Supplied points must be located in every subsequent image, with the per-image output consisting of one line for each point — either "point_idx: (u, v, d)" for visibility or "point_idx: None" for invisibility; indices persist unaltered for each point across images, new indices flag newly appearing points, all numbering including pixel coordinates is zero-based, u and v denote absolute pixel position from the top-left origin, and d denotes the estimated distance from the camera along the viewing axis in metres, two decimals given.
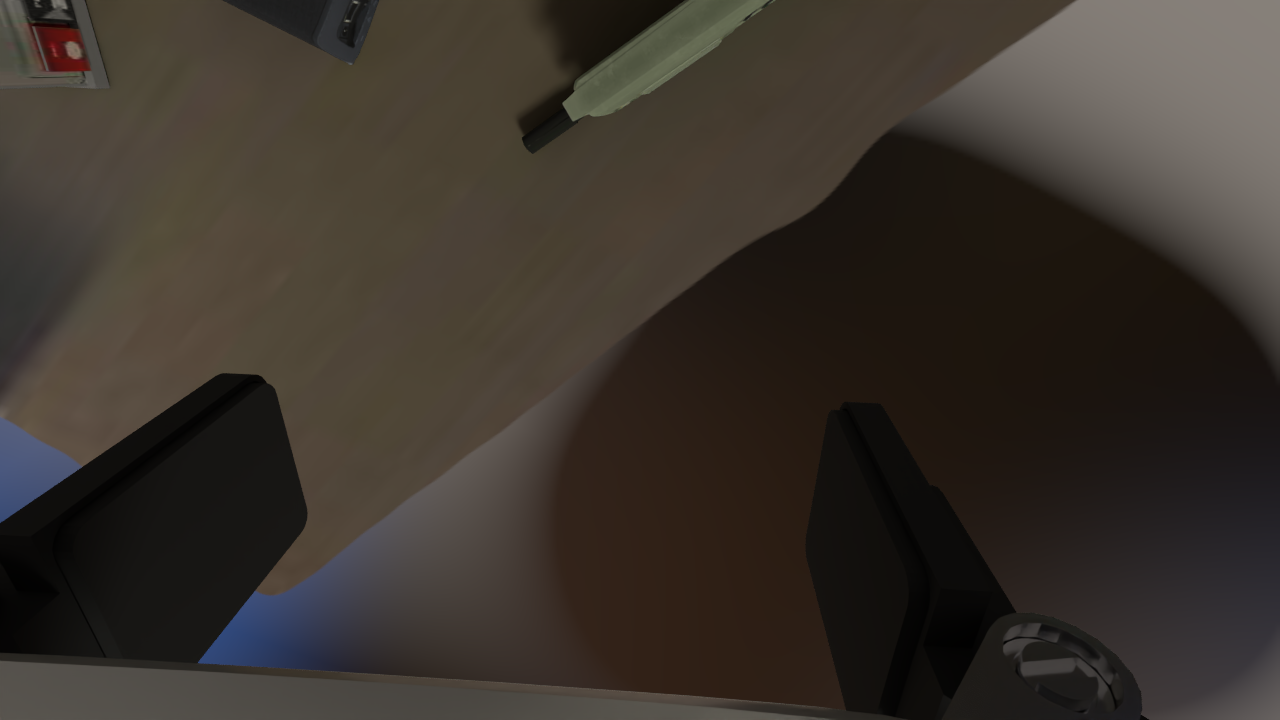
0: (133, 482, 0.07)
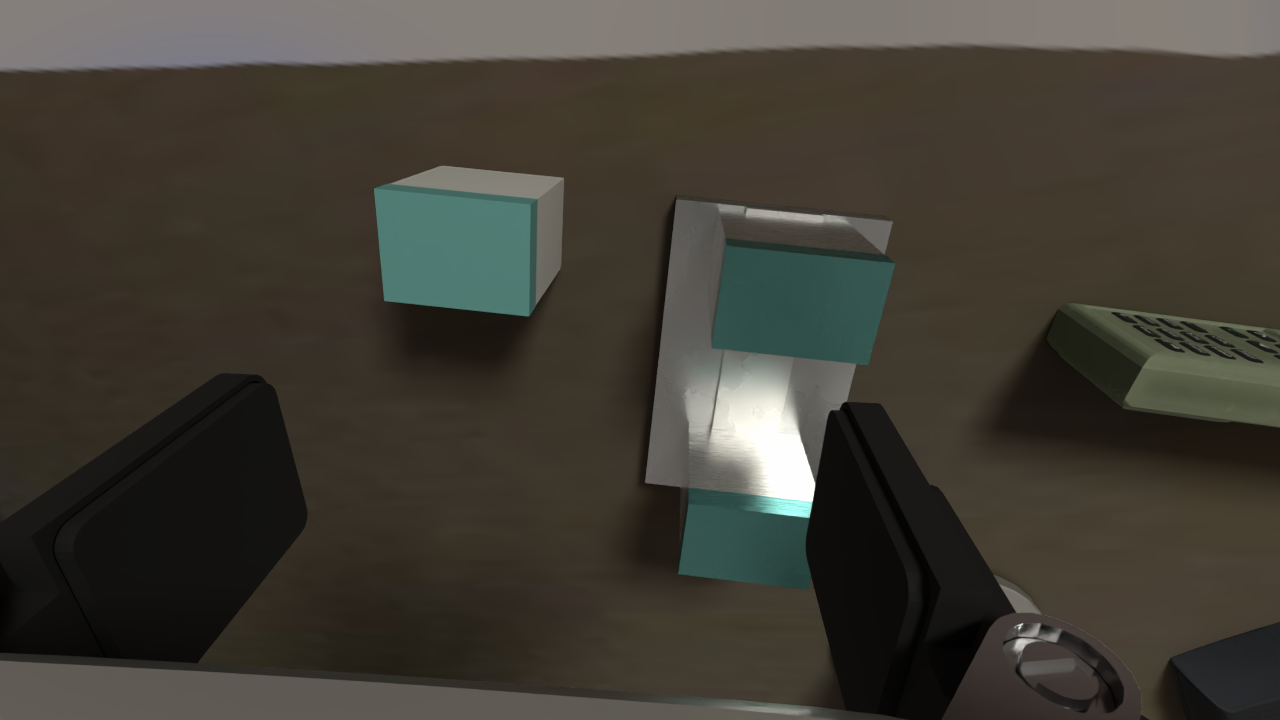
0: (133, 482, 0.07)
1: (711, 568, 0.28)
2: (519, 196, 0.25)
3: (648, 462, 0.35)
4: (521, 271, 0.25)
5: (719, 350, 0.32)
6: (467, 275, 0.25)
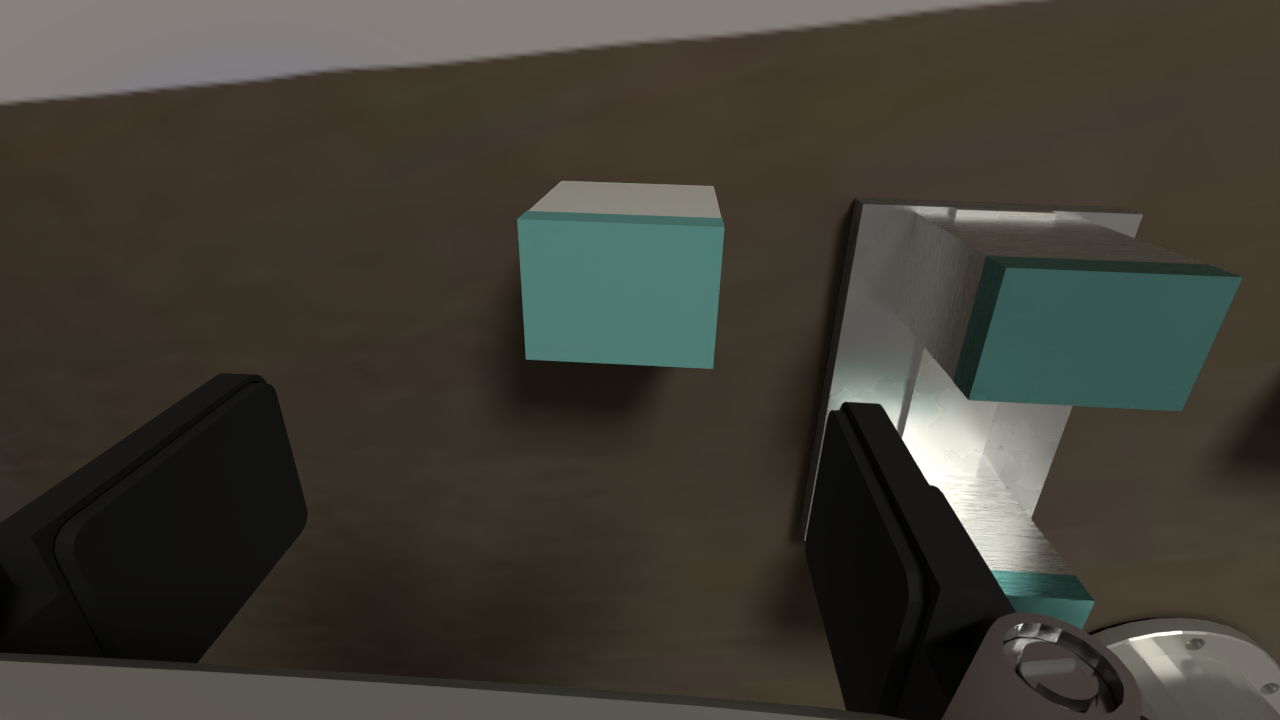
0: (133, 482, 0.07)
1: None
2: (696, 216, 0.19)
3: (809, 517, 0.29)
4: (706, 313, 0.19)
5: (905, 383, 0.26)
6: (635, 322, 0.19)
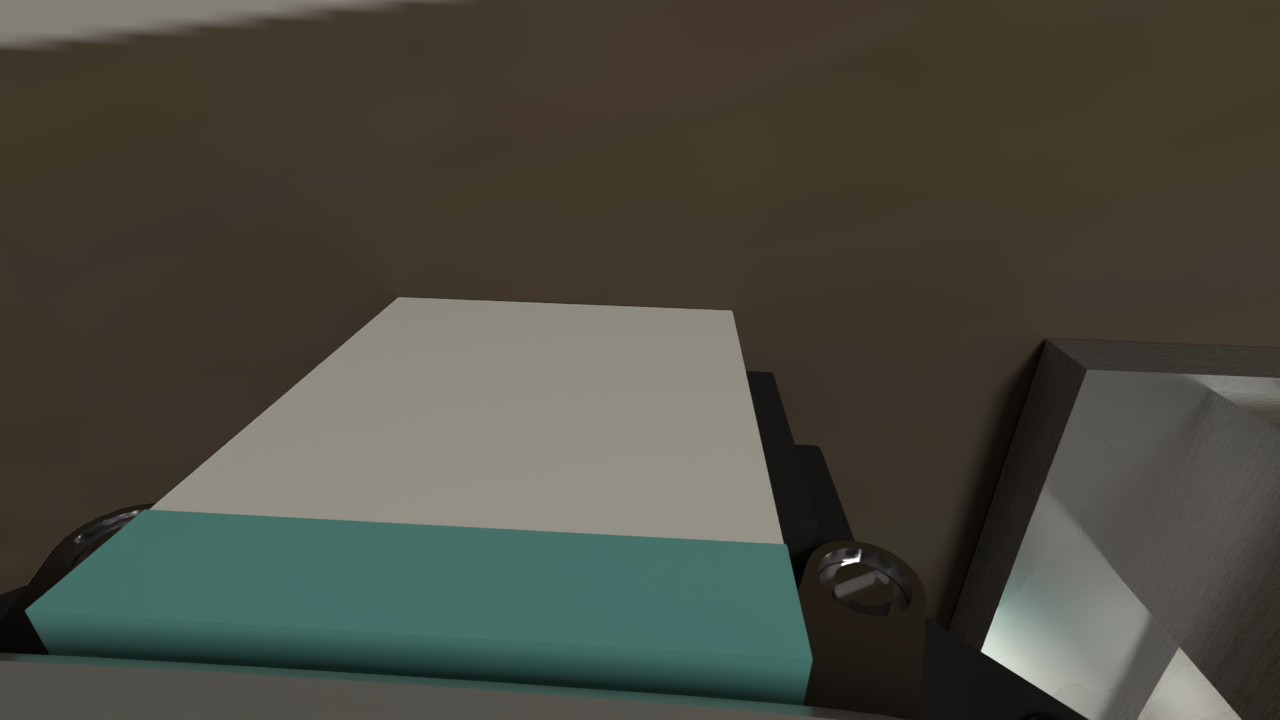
0: None
1: None
2: (698, 523, 0.06)
3: None
4: None
5: (1118, 691, 0.13)
6: None
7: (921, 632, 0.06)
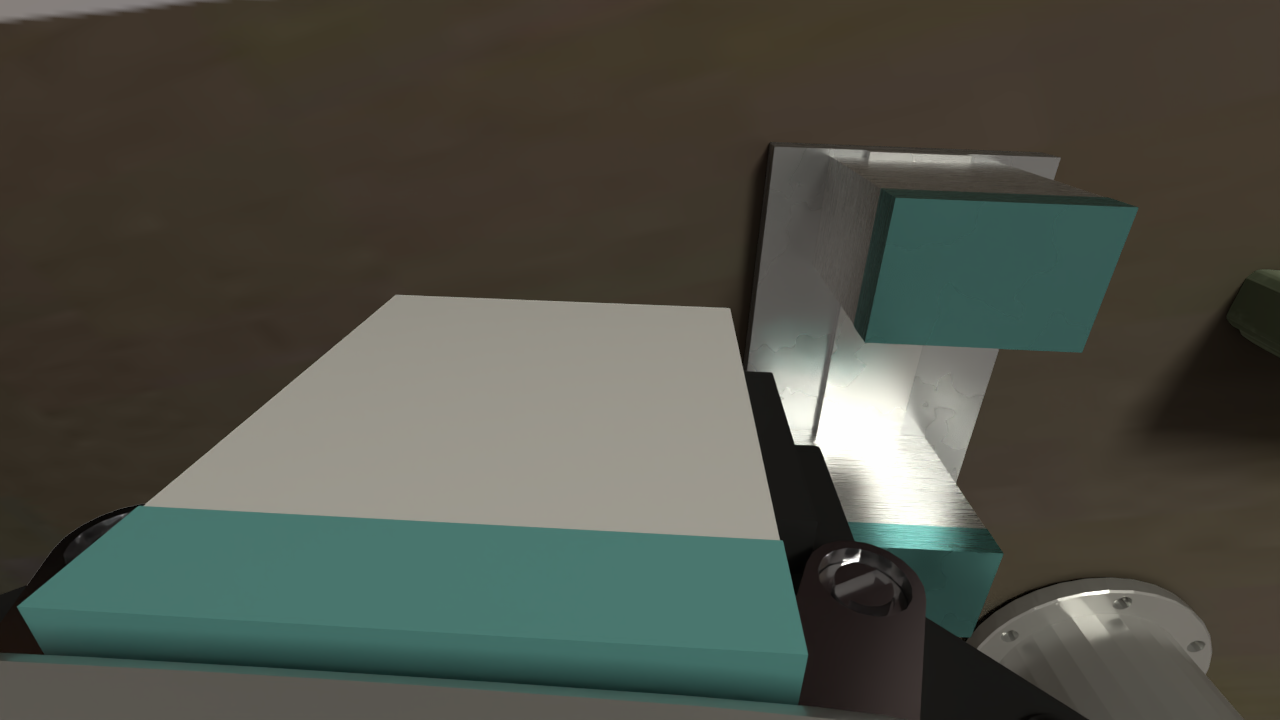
0: None
1: None
2: (694, 519, 0.06)
3: None
4: None
5: (826, 338, 0.25)
6: None
7: (921, 632, 0.06)
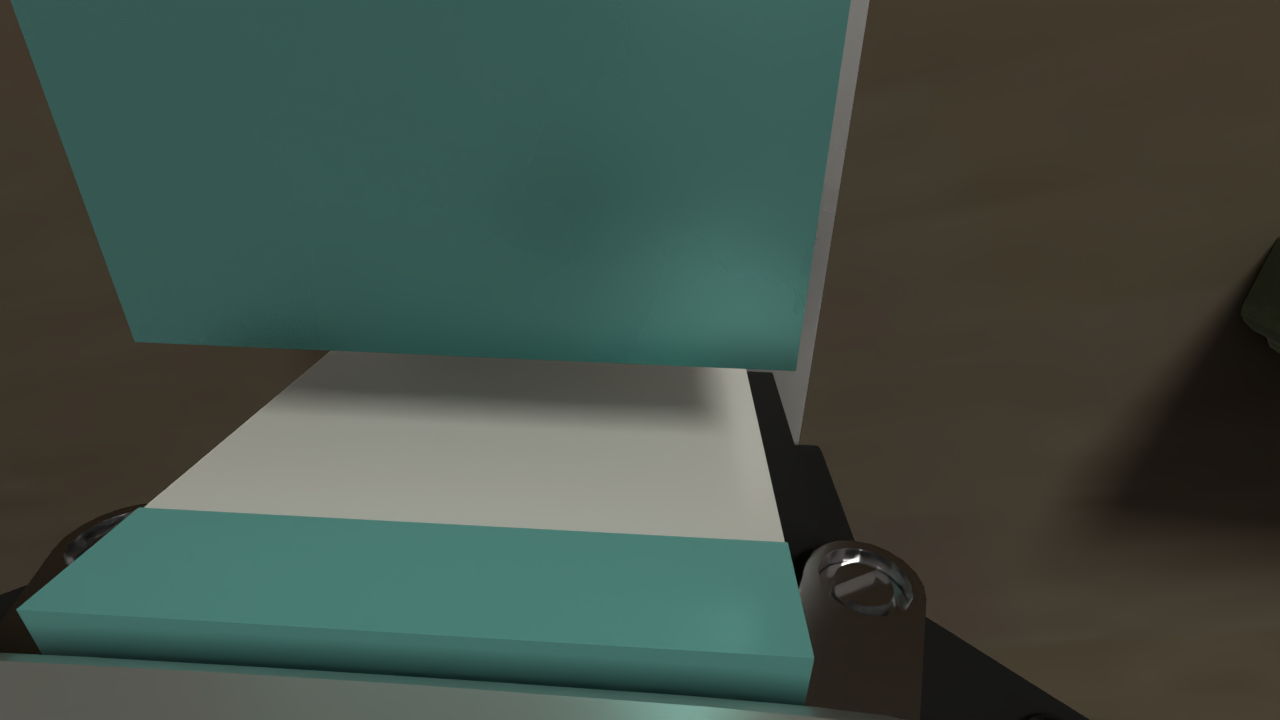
0: None
1: None
2: (698, 521, 0.06)
3: None
4: None
5: None
6: None
7: (921, 632, 0.06)
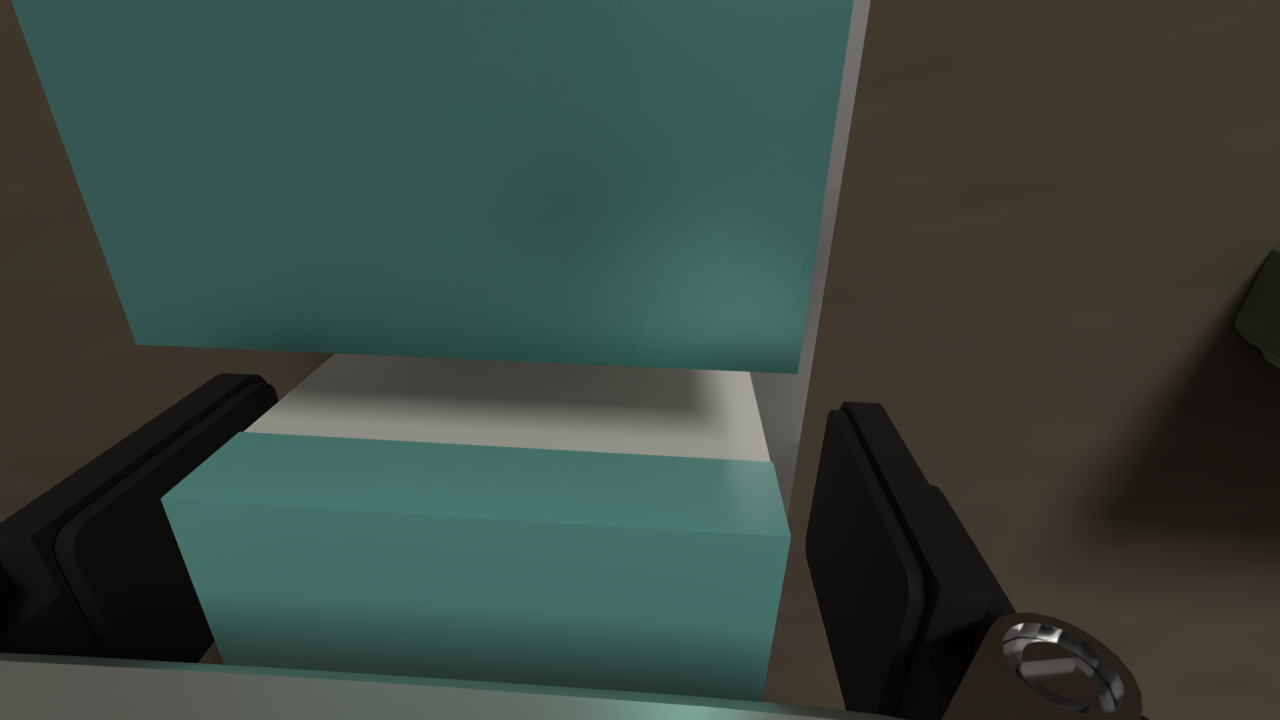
0: (133, 482, 0.07)
1: None
2: (700, 447, 0.07)
3: None
4: None
5: None
6: None
7: None
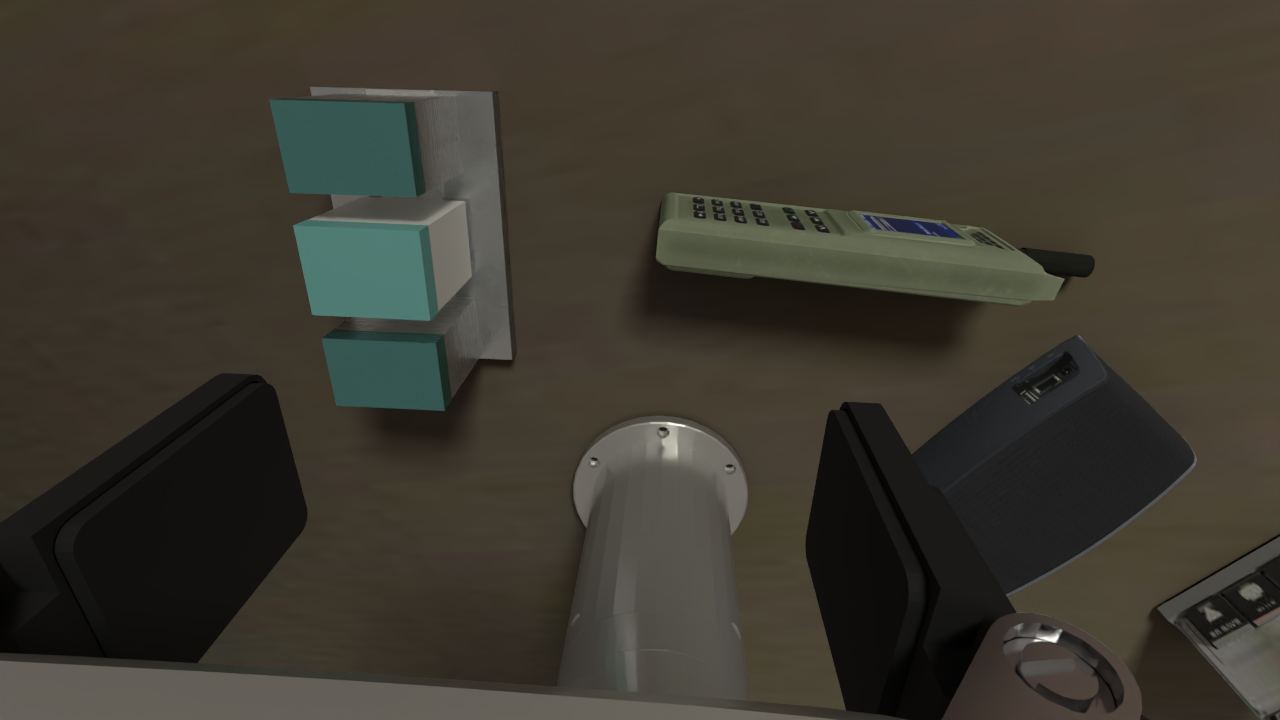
0: (133, 482, 0.07)
1: (361, 397, 0.34)
2: (414, 223, 0.30)
3: None
4: (419, 285, 0.30)
5: None
6: (376, 290, 0.31)
7: None
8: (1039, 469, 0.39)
